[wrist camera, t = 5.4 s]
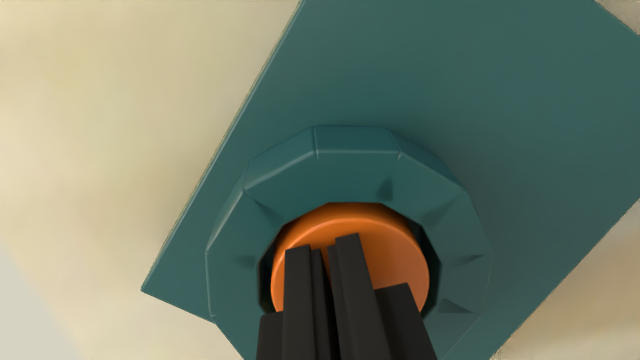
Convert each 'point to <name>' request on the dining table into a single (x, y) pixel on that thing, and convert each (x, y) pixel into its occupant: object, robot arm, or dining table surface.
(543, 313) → the dining table surface
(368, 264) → the orange button cap
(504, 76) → the button base
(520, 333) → the dining table surface
